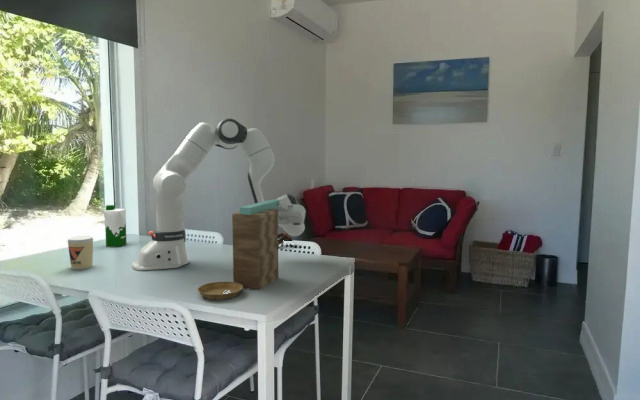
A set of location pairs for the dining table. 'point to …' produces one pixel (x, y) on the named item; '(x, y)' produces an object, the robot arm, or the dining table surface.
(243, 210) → the board
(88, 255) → the coffee cup
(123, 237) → the milk carton
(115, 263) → the dining table surface
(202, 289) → the plant saucer
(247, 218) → the shelf block
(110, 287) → the dining table surface
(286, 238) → the pottery mug
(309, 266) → the dining table surface
